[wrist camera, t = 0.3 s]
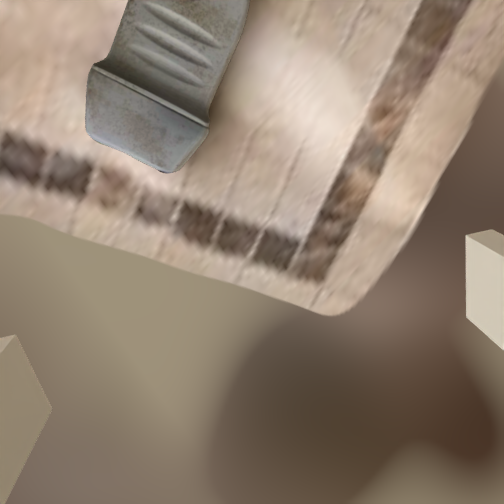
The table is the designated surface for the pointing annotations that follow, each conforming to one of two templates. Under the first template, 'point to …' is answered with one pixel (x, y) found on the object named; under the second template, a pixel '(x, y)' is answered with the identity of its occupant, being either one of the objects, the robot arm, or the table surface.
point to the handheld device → (162, 78)
